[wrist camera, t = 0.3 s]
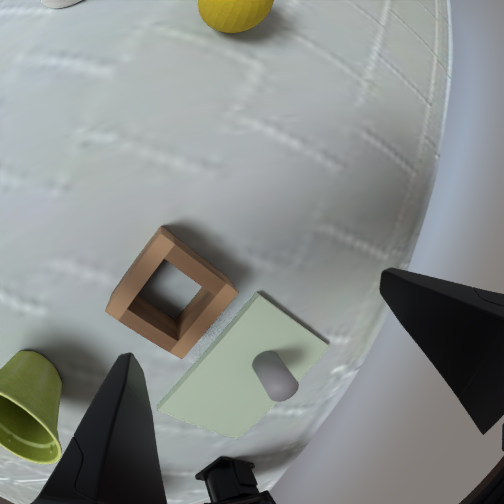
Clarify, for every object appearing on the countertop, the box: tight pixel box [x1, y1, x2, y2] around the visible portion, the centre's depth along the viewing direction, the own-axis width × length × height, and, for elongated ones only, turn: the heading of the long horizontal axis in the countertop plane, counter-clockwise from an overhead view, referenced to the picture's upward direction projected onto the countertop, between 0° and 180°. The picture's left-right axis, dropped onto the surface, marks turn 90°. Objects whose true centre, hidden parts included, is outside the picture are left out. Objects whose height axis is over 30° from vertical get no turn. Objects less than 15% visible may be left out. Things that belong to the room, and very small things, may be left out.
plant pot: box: [0, 351, 62, 464], centre depth 15 cm, size 9×9×9 cm
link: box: [105, 226, 239, 359], centre depth 20 cm, size 7×7×4 cm
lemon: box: [198, 0, 274, 33], centre depth 14 cm, size 6×6×8 cm
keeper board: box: [157, 292, 330, 439], centre depth 24 cm, size 16×11×5 cm
